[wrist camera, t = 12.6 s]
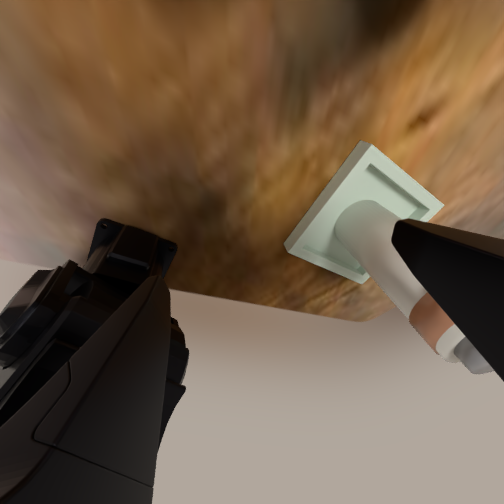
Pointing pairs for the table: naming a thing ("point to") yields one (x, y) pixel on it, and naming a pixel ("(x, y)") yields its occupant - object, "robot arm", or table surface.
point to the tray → (349, 192)
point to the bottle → (402, 281)
